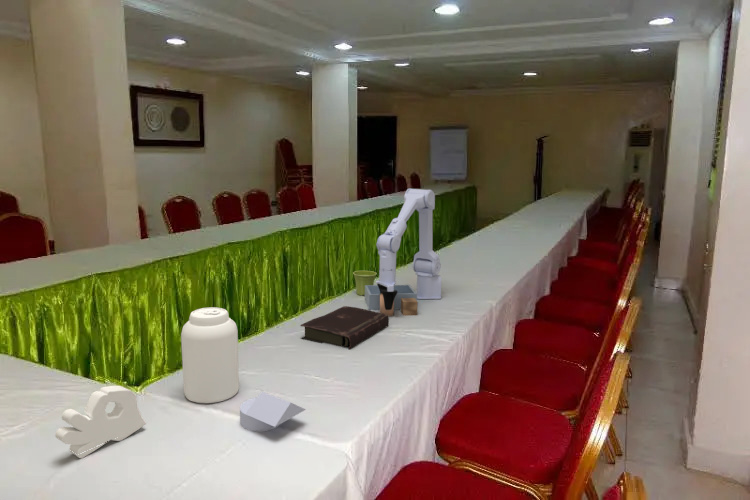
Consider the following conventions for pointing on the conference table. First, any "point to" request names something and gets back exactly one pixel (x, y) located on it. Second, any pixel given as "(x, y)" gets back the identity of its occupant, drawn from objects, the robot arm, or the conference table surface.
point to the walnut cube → (408, 306)
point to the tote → (403, 292)
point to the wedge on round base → (266, 412)
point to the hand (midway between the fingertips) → (386, 306)
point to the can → (210, 356)
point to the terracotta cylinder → (382, 307)
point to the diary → (345, 326)
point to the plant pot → (363, 280)
